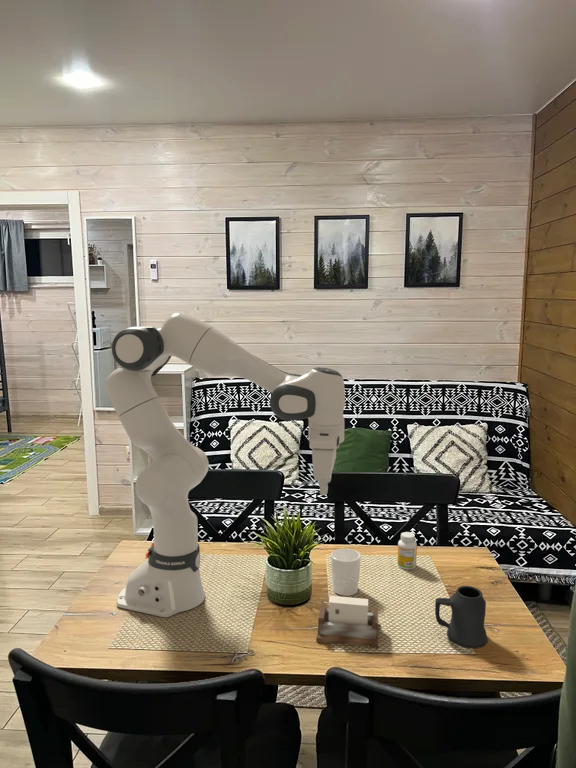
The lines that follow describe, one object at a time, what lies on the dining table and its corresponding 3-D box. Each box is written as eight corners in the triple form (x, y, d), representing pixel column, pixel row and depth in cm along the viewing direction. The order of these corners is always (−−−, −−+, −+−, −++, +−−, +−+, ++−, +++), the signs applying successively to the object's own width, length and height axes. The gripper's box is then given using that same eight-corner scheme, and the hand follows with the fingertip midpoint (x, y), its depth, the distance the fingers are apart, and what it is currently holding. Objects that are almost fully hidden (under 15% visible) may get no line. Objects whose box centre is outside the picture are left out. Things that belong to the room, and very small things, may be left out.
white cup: (358, 598, 151) (359, 562, 150) (328, 595, 153) (329, 559, 152) (360, 584, 159) (361, 549, 158) (332, 581, 161) (333, 547, 159)
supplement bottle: (404, 559, 174) (405, 529, 172) (419, 566, 170) (421, 534, 168) (393, 565, 170) (394, 534, 169) (408, 571, 166) (410, 540, 165)
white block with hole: (367, 626, 137) (368, 599, 136) (367, 635, 133) (367, 607, 132) (329, 622, 138) (330, 595, 137) (328, 631, 135) (328, 603, 134)
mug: (484, 627, 138) (486, 583, 137) (490, 650, 130) (493, 603, 128) (432, 622, 141) (434, 579, 139) (435, 644, 132) (437, 598, 130)
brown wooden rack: (316, 641, 132) (316, 621, 132) (320, 618, 142) (321, 599, 141) (378, 647, 130) (378, 627, 130) (378, 623, 140) (379, 604, 139)
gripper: (318, 424, 153) (317, 474, 155) (308, 443, 133) (308, 500, 135) (342, 424, 152) (341, 475, 154) (336, 444, 132) (335, 502, 134)
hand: (325, 487), depth 144 cm, fingers open, 8 cm apart
